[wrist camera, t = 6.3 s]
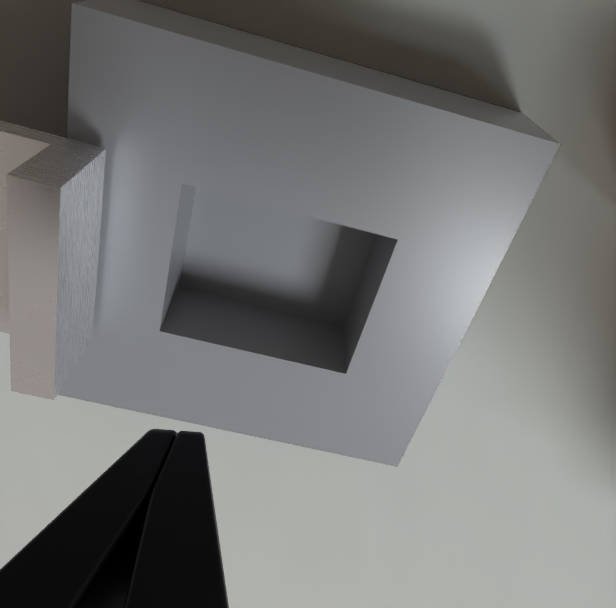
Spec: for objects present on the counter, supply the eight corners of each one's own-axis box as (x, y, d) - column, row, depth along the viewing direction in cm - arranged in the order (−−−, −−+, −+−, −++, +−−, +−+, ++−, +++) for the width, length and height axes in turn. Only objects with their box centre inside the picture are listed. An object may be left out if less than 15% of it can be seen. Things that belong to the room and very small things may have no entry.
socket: (522, 112, 15) (560, 144, 13) (388, 404, 21) (397, 466, 18) (117, -6, 14) (71, 3, 12) (92, 338, 20) (57, 394, 17)
